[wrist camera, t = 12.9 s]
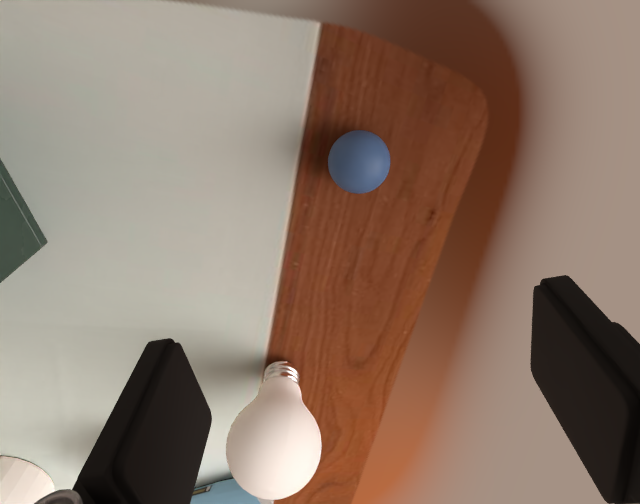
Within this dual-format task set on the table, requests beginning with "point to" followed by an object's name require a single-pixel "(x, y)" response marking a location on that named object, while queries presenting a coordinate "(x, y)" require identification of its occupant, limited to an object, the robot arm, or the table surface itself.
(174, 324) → the table surface
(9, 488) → the mug
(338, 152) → the smooth blue ball
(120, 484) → the robot arm
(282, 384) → the light bulb
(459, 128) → the table surface
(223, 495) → the pen
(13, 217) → the green hinged lid box
